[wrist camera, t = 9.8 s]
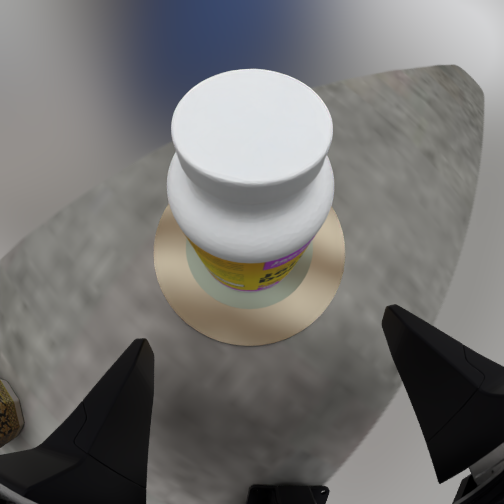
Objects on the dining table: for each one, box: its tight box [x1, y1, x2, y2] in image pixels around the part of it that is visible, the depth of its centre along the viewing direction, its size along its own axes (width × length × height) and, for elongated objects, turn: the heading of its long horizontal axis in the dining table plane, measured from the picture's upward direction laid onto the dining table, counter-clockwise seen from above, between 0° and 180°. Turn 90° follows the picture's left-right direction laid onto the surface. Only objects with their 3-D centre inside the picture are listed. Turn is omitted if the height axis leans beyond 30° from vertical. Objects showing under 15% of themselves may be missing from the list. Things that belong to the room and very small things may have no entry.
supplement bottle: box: [167, 69, 334, 292], centre depth 13 cm, size 7×7×13 cm
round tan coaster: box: [154, 204, 345, 346], centre depth 20 cm, size 14×14×1 cm
